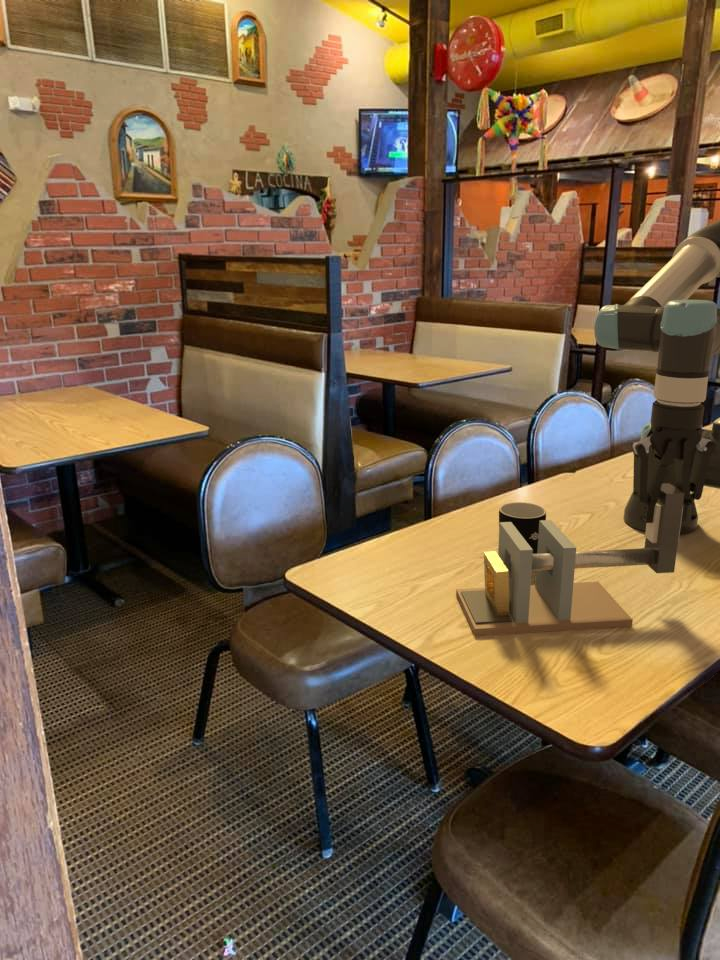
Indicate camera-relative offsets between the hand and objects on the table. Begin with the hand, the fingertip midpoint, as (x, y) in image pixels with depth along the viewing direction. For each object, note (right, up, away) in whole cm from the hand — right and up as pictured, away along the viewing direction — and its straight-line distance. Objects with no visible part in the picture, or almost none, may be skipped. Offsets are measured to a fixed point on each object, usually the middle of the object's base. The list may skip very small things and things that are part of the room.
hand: (661, 539), depth 121 cm
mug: (-18, -5, +24) cm, 30 cm away
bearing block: (-20, -12, +2) cm, 23 cm away
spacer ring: (-28, -7, 0) cm, 29 cm away
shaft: (-12, -5, +1) cm, 13 cm away
